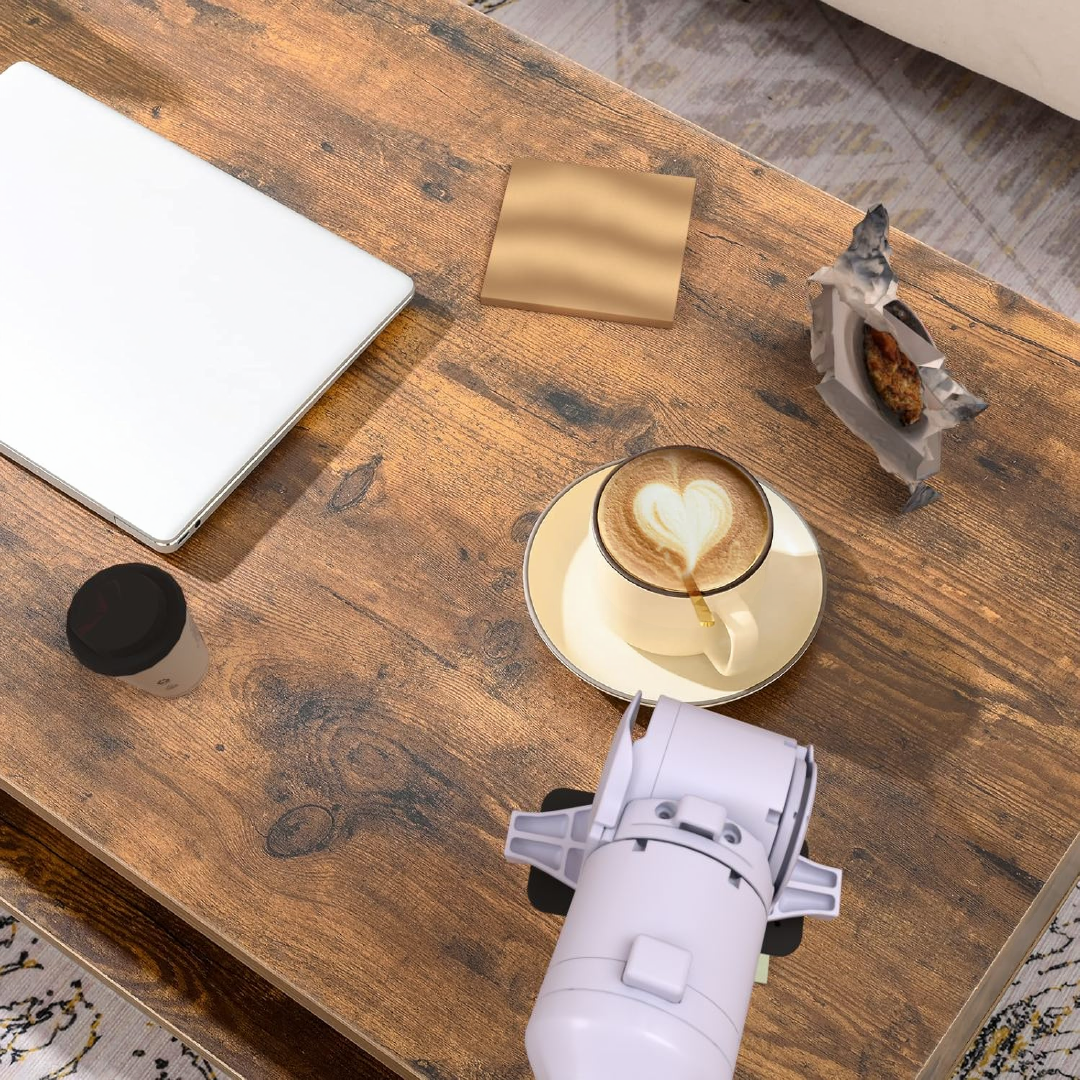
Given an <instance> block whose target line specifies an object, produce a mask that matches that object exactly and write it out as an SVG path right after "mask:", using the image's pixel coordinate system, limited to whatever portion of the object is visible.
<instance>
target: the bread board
mask: <svg viewBox="0 0 1080 1080" xmlns="http://www.w3.org/2000/svg"><path fill="white" fill-rule="evenodd" d="M696 185H697V178H696V177H689V176H680V175H673V174H663V173H656V172H647V171H638V170H629V169H620V168H614V167H605V166H595V165H586V164H579V163H572V162H571V163H570V162H562V161H555V160H554V161H553V160H546V159H545V160H544V159H536V158H528V157H521V156H520V157H519V156H514V157H513V158H512V163H511V167H510V171H509V175H508V178H507V184H506V187H505V192H504V195H503V200H502V205H501V208H500V212H499V216H498V221H497V225H496V229H495V234H494V237H493V241H492V246H491V250H490V254H489V258H488V262H487V266H486V270H485V275H484V279H483V284H482V287H481V291H480V296H479V297H480V304H481V305H485V306H494V307H500V308H501V307H502V308H509V309H516V310H524V311H530V312H537V313H545V314H546V313H547V314H553V315H560V316H561V315H562V316H570V317H576V318H585V319H592V320H598V321H600V320H601V321H605V322H607V321H608V322H614V323H622V324H630V325H637V326H646V327H653V328H660V329H668V330H673V329H674V322H675V317H676V309H677V303H678V297H679V291H680V284H681V279H682V274H683V273H682V272H683V266H684V260H685V253H686V247H687V243H688V242H687V240H688V234H689V228H690V221H691V216H692V210H693V205H694V198H695V191H696Z"/></svg>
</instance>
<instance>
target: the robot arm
mask: <svg viewBox="0 0 1080 1080" xmlns="http://www.w3.org/2000/svg"><path fill="white" fill-rule="evenodd" d="M642 696H643V691H642V690H641V689H638V690H637V692H636V693H635V695H634V696H633V698H632V700H631V701H630V703H629V705H628V706H627V707H626V709H625V711H624V713H623V714H622V717H621V719H620V721H619V723H618V725H617V727H616V731H615V733H614V736H613V739H612V742H611V745H610V747H609V750H608V753H607V755H606V759H605V762H604V765H603V768H602V771H601V774H600V778H599V780H598V782H597V783H598V784H597V787H596V790H595V792H592V791H587V790H581V789H575V788H569V787H557V788H555V789H552V790H549V792H548V793H546V795H545V796H544V798H543V800H542V803H541V805H540V811H538V812H534V811H533V812H532V811H531V812H530V811H523V810H515V809H514V810H513V809H512V811H511V815H510V820H509V824H508V825H509V826H508V831H507V834H506V840H505V846H504V850H503V851H504V852H503V856H504V857H505V860H506V862H507V863H513V864H516V865H517V864H518V865H523V866H525V865H526V866H527V865H530V866H529V874H528V879H527V884H526V894H527V899H528V901H529V903H530V904H531V905H530V906H532V907H533V908H534V909H535V910H537V911H538V912H541V913H544V914H550V915H555V916H559V917H565V919H564V922H563V924H562V925H563V926H562V928H561V931H560V933H559V936H558V939H557V942H556V945H555V947H554V950H553V953H552V956H551V959H550V961H549V965H548V968H547V970H546V972H545V975H544V978H543V980H542V983H541V986H540V989H539V992H538V995H537V996H536V1001H535V1002H534V1006H533V1009H532V1011H531V1015H530V1017H529V1020H528V1022H527V1026H526V1029H525V1031H524V1047H525V1051H526V1054H527V1059H528V1062H529V1065H530V1067H531V1070H532V1073H533V1075H534V1078H535V1080H733V1078H734V1073H735V1070H736V1065H737V1060H738V1056H739V1051H740V1047H741V1042H742V1038H743V1033H744V1030H745V1024H746V1020H747V1015H748V1011H749V1005H750V1001H751V997H752V993H753V989H754V984H755V982H754V979H755V975H756V970H757V965H758V961H759V956H760V954H766V955H770V956H772V957H778V958H784V957H787V956H790V955H791V954H793V953H795V952H796V951H797V950H798V949H799V947H800V946H801V944H802V941H803V934H804V925H805V924H804V921H805V917H808V918H811V919H814V920H820V921H825V922H831V921H832V920H835V919H836V918H838V917H840V909H841V908H840V906H841V896H842V895H841V894H842V883H843V882H842V880H843V870H842V869H841V868H837V867H833V866H832V867H831V866H829V865H825V864H821V863H818V862H816V861H814V860H811V859H809V857H810V850H809V846H808V843H807V841H806V839H805V838H806V834H807V831H808V827H809V824H810V819H811V816H812V812H813V807H814V804H815V797H816V792H817V782H818V764H817V763H816V761H814V745H813V744H811V743H809V744H807V745H805V746H802V745H799V744H798V740H797V739H795V738H792V737H790V736H786V735H783V734H780V733H777V732H774V731H771V730H768V729H765V728H763V727H760V726H756V725H754V724H750V723H747V722H745V721H741V720H738V719H736V718H732V717H729V716H726V715H723V714H720V713H718V712H714V711H711V710H709V709H706V708H703V707H699V706H696V705H694V704H692V703H688V702H685V701H681V700H680V699H676V698H672V697H670V696H667V695H665V694H660V695H659V697H658V698H657V701H656V704H655V706H654V709H653V711H652V715H651V718H650V720H649V722H648V723H649V724H648V726H647V729H646V731H645V734H644V736H643V737H642V738H638V739H634V741H633V740H632V735H633V730H634V728H635V724H636V721H637V717H638V714H639V710H640V706H641V702H642Z"/></svg>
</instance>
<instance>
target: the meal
mask: <svg viewBox="0 0 1080 1080" xmlns="http://www.w3.org/2000/svg"><path fill="white" fill-rule="evenodd" d="M889 241H890V216H889V212H888V210H887V208H886V207H885V206H884V205H883V203H882V202H881V203H875V204H874V205H871V206H869V207H868V208H867V211H866V214H865V216H864V218H863V219H862V220H861V221H860V222H858V223H857V224H856V225H855V226H854V227H853V228H852V238H851V241H850V243H849V245H848V247H847V248H846V249H845V251H843V252H840V253H839V254H838V256H837V258H836V259H835V260H834V261H833V265H832V266H825V265H824V266H822V267H820V268H819V269H818V270H817V271H815V272H811V273H810V275H809V277H808V278H807V279H806V282H805V285H804V287H806V300H807V301H806V302H807V304H808V305H804V306H805V307H806V309H807V311H808V312H809V314H810V315H811V320H812V322H811V324H810V326H809V329H805V327H804V326H805V325H804V323H803V322H801V344H802V345H803V343H804V337H805V333H806V335H807V336H808V338H809V340H810V342H811V343H810V344H811V350H810V352H809V354H810V358H811V363H813V364H814V366H815V367H816V370H817V372H818V373H819V374H821V373H824V372H825V374H824V376H823V377H822V379H821V381H820V382H819V383H818V384H816V385H814V389H815V390H816V392H817V393H818V394H819V396H820V397H821V399H822V400H823V402H824V403H825V404H826V406H827V407H828V408H829V409H830V410H831V411H832V412H833V413H834V414H835V415H836V416H837V417H838V418H839V420H840V421H841V422H842V423H843V424H844V426H846V427H847V429H848V430H849V431H850V432H851V433H852V434H853V435H854V436H856V437H857V438H859V439H860V440H861V441H863V442H864V443H865V444H867V445H868V446H869V447H870V448H871V449H872V450H873V451H874V453H875V454H876V456H877V458H878V461H879V466H881V468H883V470H884V471H886V473H888V474H892V475H896V476H897V477H898V478H900V479H901V480H902V481H903V482H904V483H905V484H906V485H907V486H909V498H908V500H907V502H906V503H905V505H904V506H903V508H902V509H901V510H900V512H898V513H899V514H898V516H902V515H905V514H907V513H912V512H914V511H917V510H919V509H921V508H923V507H925V506H927V505H930V504H931V503H934V502H936V501H937V500H940V499H942V498H944V495H943V494H942V493H939V492H938V490H937V489H935V488H933V487H932V486H930V485H928V482H924V481H925V480H928V479H930V478H932V477H934V476H937V475H938V474H940V473H941V459H942V457H941V455H942V433H943V431H942V430H945V429H951V428H952V429H953V428H955V427H956V426H957V425H959V424H960V423H961V422H963V423H964V422H971V421H972V420H973V419H975V418H976V417H977V416H979V415H980V414H981V413H983V412H985V411H986V410H987V409H989V408H990V407H991V406H993V404H991V403H990V404H989V403H986V402H985V400H984V397H983V396H981V397H977V396H975V395H974V394H973V393H972V392H971V391H969V390H968V389H967V388H966V386H965V385H964V384H963V382H961V381H959V382H956V381H955V380H953V378H951V377H950V375H951V374H952V373H953V372H954V370H951V369H946V359H947V355H945V354H944V353H942V352H941V351H940V350H938V348H937V346H936V344H935V341H934V336H933V333H932V332H931V330H930V329H929V327H928V325H927V324H926V323H925V322H924V321H922V320H921V319H920V316H919V315H918V314H917V313H916V312H915V311H914V310H913V308H911V307H910V306H909V305H908V304H907V303H906V302H904V301H903V300H901V299H900V298H899V297H897V292H898V291H897V290H898V286H899V277H898V276H897V275H896V274H895V273H894V271H893V269H892V266H891V263H890V257H891V256H892V255H893V254H894V251H893V249H892V247H891V245H890V243H889ZM814 282H815V283H816V282H817V283H818V284H819V285H820V286H821V287H822V290H823V291H822V292H821V293H819V294H818V295H817V296H816V297H814V298H813V296H812V295H811V294H810V288H809V287H810V285H811V283H814ZM926 485H927V486H926Z"/></svg>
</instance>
